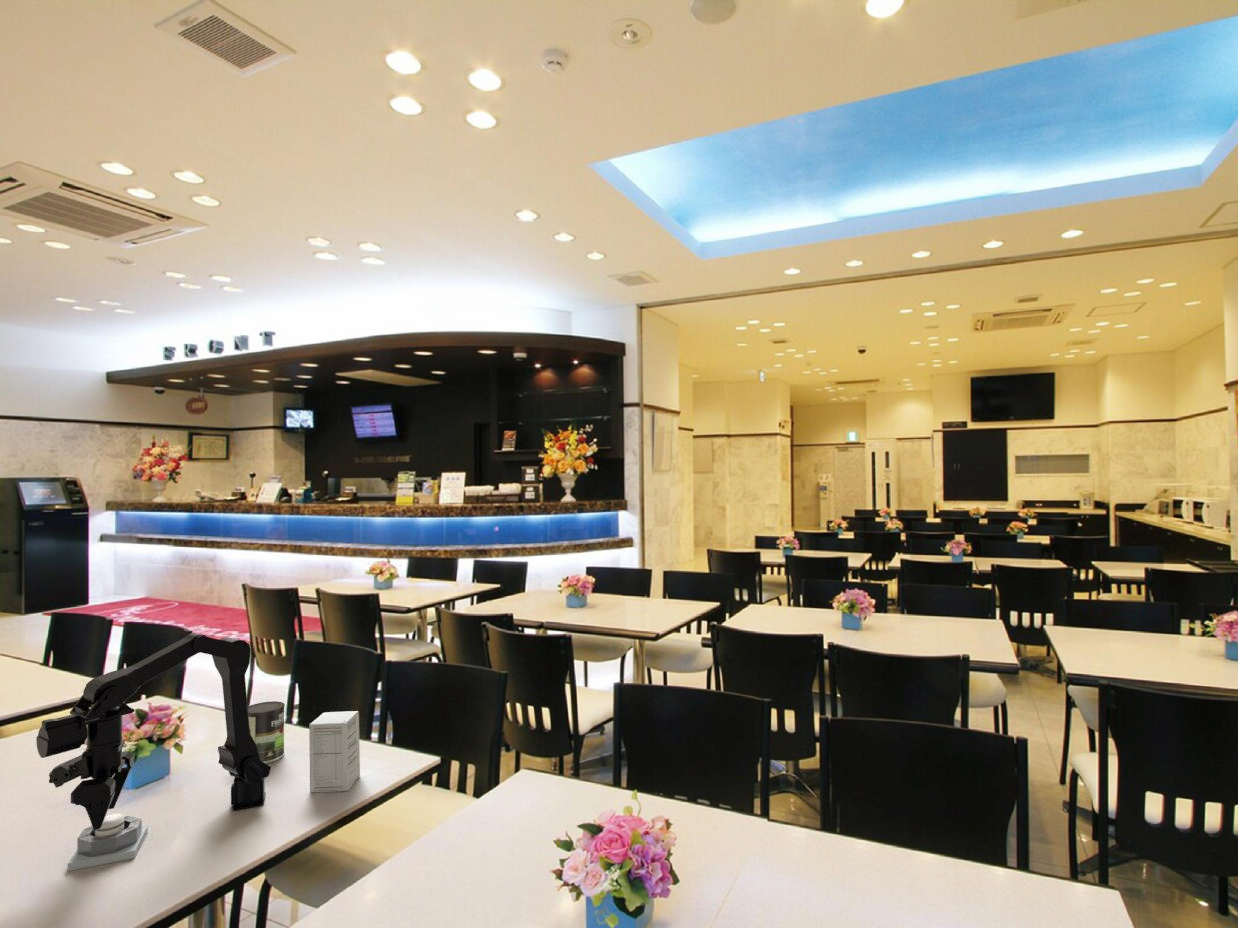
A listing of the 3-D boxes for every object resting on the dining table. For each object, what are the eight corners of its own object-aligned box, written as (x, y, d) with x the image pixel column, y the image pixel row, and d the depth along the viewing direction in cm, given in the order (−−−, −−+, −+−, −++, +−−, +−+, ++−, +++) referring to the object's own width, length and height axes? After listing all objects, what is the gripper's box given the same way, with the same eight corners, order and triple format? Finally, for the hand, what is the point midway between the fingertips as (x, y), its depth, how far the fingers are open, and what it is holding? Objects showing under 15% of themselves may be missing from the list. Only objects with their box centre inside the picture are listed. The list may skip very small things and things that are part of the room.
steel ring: (144, 826, 147) (144, 812, 147) (133, 848, 138) (133, 833, 138) (88, 836, 143) (88, 822, 143) (72, 860, 134) (72, 845, 134)
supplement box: (361, 775, 175) (360, 710, 176) (347, 791, 166) (347, 722, 167) (323, 776, 175) (323, 711, 175) (308, 792, 166) (308, 723, 166)
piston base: (147, 832, 147) (147, 802, 148) (134, 857, 137) (134, 825, 138) (85, 844, 143) (85, 813, 143) (67, 870, 133) (67, 837, 133)
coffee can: (291, 750, 193) (291, 700, 194) (272, 765, 183) (272, 712, 183) (255, 750, 193) (255, 700, 194) (234, 765, 183) (234, 713, 183)
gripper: (71, 731, 143) (70, 806, 142) (36, 764, 125) (36, 850, 125) (134, 723, 147) (134, 796, 146) (109, 754, 130) (109, 836, 129)
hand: (104, 818), depth 137 cm, fingers open, 9 cm apart
